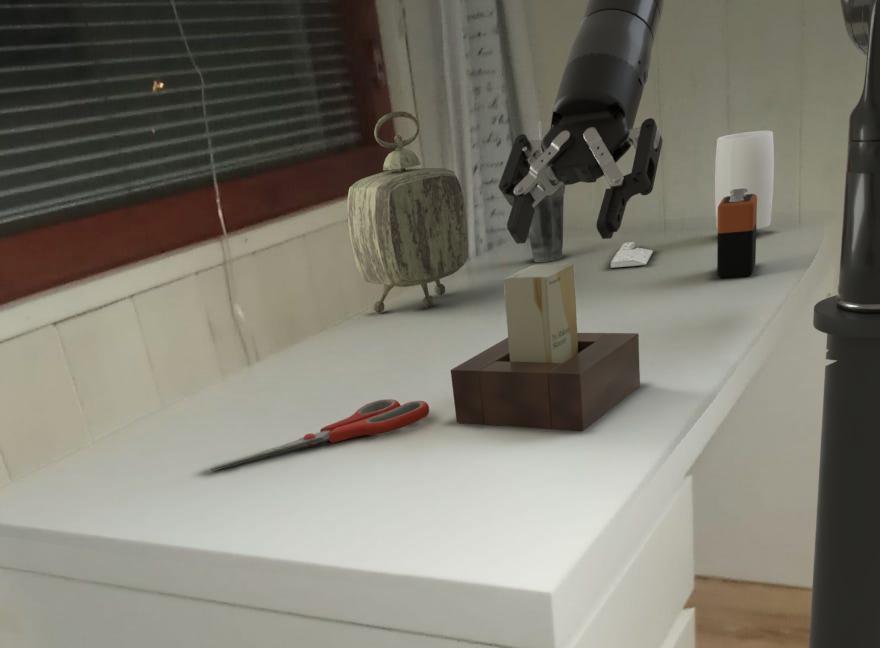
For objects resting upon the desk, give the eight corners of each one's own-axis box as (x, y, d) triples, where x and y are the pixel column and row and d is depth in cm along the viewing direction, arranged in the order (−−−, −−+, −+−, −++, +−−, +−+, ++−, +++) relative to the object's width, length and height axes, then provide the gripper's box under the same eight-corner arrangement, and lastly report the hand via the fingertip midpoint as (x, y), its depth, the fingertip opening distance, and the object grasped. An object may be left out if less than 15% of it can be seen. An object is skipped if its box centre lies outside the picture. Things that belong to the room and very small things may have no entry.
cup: (782, 229, 153) (785, 128, 147) (756, 240, 148) (758, 136, 142) (730, 230, 159) (731, 133, 152) (704, 241, 154) (704, 141, 147)
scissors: (208, 470, 90) (205, 455, 90) (393, 405, 100) (391, 391, 100) (248, 488, 85) (244, 472, 84) (439, 417, 94) (438, 403, 94)
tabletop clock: (444, 292, 148) (422, 106, 136) (481, 297, 141) (461, 101, 129) (362, 315, 142) (331, 122, 130) (396, 321, 135) (367, 118, 123)
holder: (640, 385, 94) (638, 333, 92) (583, 431, 85) (579, 374, 83) (520, 381, 101) (516, 332, 99) (456, 422, 92) (450, 369, 90)
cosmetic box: (555, 415, 90) (545, 277, 84) (512, 413, 92) (500, 278, 87) (583, 393, 95) (576, 260, 89) (541, 392, 97) (532, 262, 91)
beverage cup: (519, 265, 158) (508, 127, 149) (531, 256, 164) (521, 122, 154) (564, 262, 155) (556, 121, 146) (575, 252, 161) (567, 116, 151)
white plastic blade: (656, 245, 156) (656, 238, 155) (645, 266, 143) (645, 258, 143) (623, 248, 157) (623, 240, 157) (609, 268, 145) (609, 260, 145)
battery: (755, 265, 133) (757, 185, 129) (752, 276, 128) (753, 193, 123) (721, 268, 135) (722, 189, 130) (716, 279, 129) (717, 197, 125)
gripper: (518, 62, 92) (472, 216, 90) (667, 37, 85) (621, 204, 82) (548, 118, 99) (506, 263, 96) (689, 99, 91) (647, 256, 88)
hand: (559, 236), depth 89 cm, fingers open, 8 cm apart
